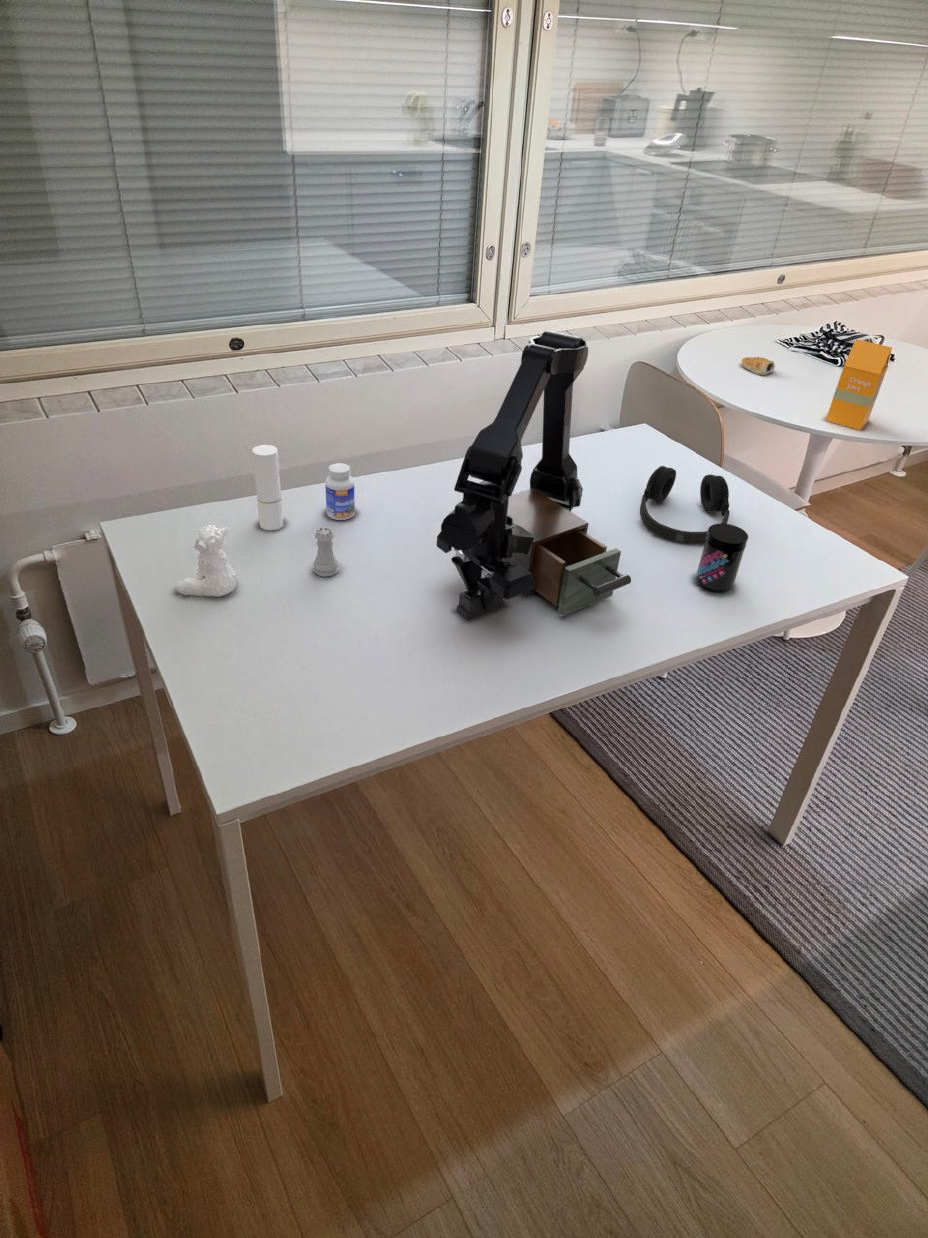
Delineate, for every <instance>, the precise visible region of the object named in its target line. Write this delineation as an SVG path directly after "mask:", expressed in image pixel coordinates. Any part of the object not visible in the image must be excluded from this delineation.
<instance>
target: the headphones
mask: <svg viewBox="0 0 928 1238" xmlns="http://www.w3.org/2000/svg"><path fill="white" fill-rule="evenodd" d="M676 477H677V471H676V470H675V469H674V468H672V467H667V466H665V465H660V466H658V467H657V468H656V469H655V470H654V471H653V472H652V474H651V475H650V477H649V478H648V480H647V483H646V486H645V489H644V490H643V491H644V492H643V495H642V496H641V502H640V506H639V516H640V520H641V523H642V524H643V525H644V527H645V528H646V529H647V530H648V531H649V532H651V533H652V534H654V535H655V536H657V537H660V538H663V539H664V540H668V541H672V542H675V543H680V544H687V545H693V544H695V545H697V544H698V545H703V544H705V540H706V535H707V532H708V530H706V531H687V530H681V529H677V528H672V527H670V526H667V525H665V524H663V523H660V522H658V521H657V520H655V519H654V518H653V516H651V515H650V513H649V511H648V508H647V502H648V500H651V501H653V502H655V503H657V504H661V503H663V502H664V501H665V500H666V499H667V498H668V496H669V495H670V493H671V492H672V490H673V487H674V484H675V482H676ZM728 485H729V484H728V483H727V481H726V479H725V477H724V476H722V475H715V474H710V473H709V474H706V475H704V476H703V478H702V479H701V482H700V488H699V495H700V503H701V505H702V507H703V510H704V511H706V512H709V513H714V512H720V515H721V517H723V518H722V521H721V522H720V523H723V524H728V521H729V518H730V510H729V508H730V502H729V498H730V497H729V496H730V490H729V486H728Z"/></svg>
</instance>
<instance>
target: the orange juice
mask: <svg viewBox="0 0 928 1238" xmlns="http://www.w3.org/2000/svg"><path fill="white" fill-rule="evenodd" d="M892 350H893V347H892V346H887V345H883V344H880V343H876V342H875V343H874V342H870V341H867V340H862V339H858V338H855V341H854V343H853V344H852V347H851V349H850V350H849V351H850V352H849V354H848V356H847V358H846V360H845V363H844V365H843V368H842V370H841V373H840V376H839V380H838V383H837V385H836V388H835V391H834V394H833V396H832V400H831V403H830V407H829V409H828V412H827V415H826V419H825V422H829V423H833V424H836V425H840V426H844V427H847V428H851V429H855V430H858V431H862V429H863V428H864V427H865V426H866V424H867V423H868V421H869V419H870V417H871V414H872V411H873V409H874V406H875V403H876V400H877V397H878V396H879V393H880V389H881V386H882V384H883V382H884V380H885V379H884V378H885V376H886V373H887V370H888V367H889V363H890V358H891V353H892Z"/></svg>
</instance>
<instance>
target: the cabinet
mask: <svg viewBox="0 0 928 1238" xmlns="http://www.w3.org/2000/svg"><path fill="white" fill-rule="evenodd" d="M507 515H508V516H510V517H511V518H512V519H513V523H515V524H516V525H518V526H521V527H522V528H524V529H525V530H527V531H528V532H530V533H531V534H532V535H534V536H535V537H534V540H533V542H532V545H531V547H530V550H529V552H528V554H526V555H525V554H523V553H512V557H511V558H508V559H505V558H502V562H508V563H510V564H511V565H515V564H517V563H518V564H519V565H521V566H522V567H524V568H525V569H526V570H528V571H529V572H530V573H532V568H533V560H534V552H535V546H536V545H538V544H541V543H544V542H547V541H550V540H553V539H555V538H558V537H561V536H564V535H567V534H570V533H572V532H575V531H578V530H582V531H583V532H585V533H586V534H588V529H589V522H588V521H586V520H585V519H583V518H582V517H580V516H578V515H577V514H575V513H574V512H573V511H571V512H570V511H569V510H567V509H566V508H564V507H562V506H561V505H559V504H558V503H556V502H554V501H553V500H551V499H550V498H548V497H546V496H545V495H543V494H542V493H540V492H539V491H537V490H535V489H534V488H532V489H530V488H529V489H526V490H523V491H519V492H517V493H512V495H511V496H509V502H508V512H507ZM535 593H538V592H537V591H535V590H531V591H528V592H526V593H523V594H522V595H523V596H524V597H528V596H530V595H533V594H535Z"/></svg>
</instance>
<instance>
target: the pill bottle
mask: <svg viewBox="0 0 928 1238" xmlns="http://www.w3.org/2000/svg"><path fill="white" fill-rule="evenodd" d="M351 474H352V473H351V467H350V465H348V464H346V463H342V462H339V463H333V464H330V465H329V466H328V476H327V477H326V478H325V480H324V481H325V483H324V484H325V511H326V515H327V516H328V517H329V518H330V519H332V520H335V521H336V520H337V521H345V520H349V519H351V518H353V517H354V516H355V514H356V506H355V503H356V499H355V479H354V477H353V476H351Z"/></svg>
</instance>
